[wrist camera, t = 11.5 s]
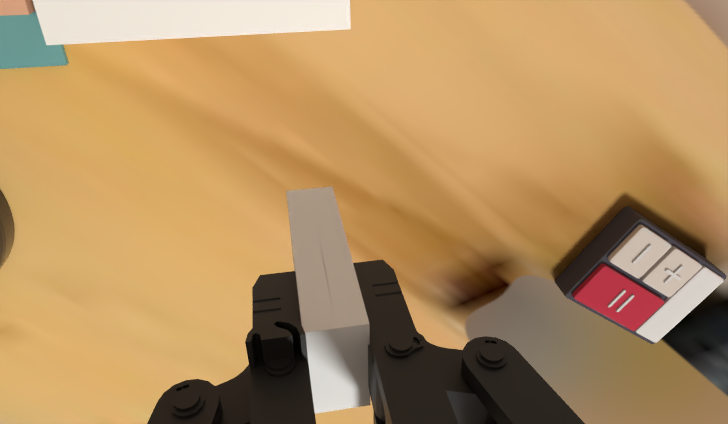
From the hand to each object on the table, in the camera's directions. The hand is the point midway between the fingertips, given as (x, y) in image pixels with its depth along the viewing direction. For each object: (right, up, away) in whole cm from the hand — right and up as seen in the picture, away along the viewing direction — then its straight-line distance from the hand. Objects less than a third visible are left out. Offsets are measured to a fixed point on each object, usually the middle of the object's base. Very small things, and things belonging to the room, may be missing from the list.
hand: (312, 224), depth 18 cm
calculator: (+31, -6, +42) cm, 53 cm away
